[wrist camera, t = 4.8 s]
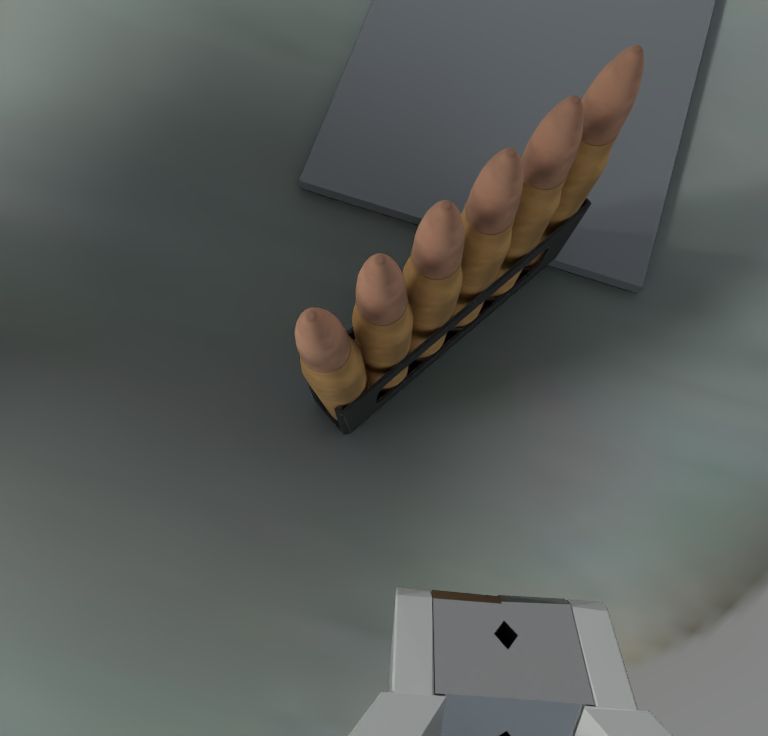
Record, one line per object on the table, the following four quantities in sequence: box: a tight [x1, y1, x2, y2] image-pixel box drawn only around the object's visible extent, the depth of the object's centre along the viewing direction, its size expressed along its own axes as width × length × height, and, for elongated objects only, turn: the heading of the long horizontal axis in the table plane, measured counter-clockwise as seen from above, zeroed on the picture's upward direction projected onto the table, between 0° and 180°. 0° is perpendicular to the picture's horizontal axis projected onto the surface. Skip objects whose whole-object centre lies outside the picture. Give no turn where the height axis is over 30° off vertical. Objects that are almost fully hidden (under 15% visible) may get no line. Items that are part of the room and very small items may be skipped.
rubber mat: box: [299, 0, 716, 293], centre depth 28 cm, size 20×14×1 cm
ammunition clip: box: [295, 44, 644, 435], centre depth 19 cm, size 11×2×12 cm, turn 131°
